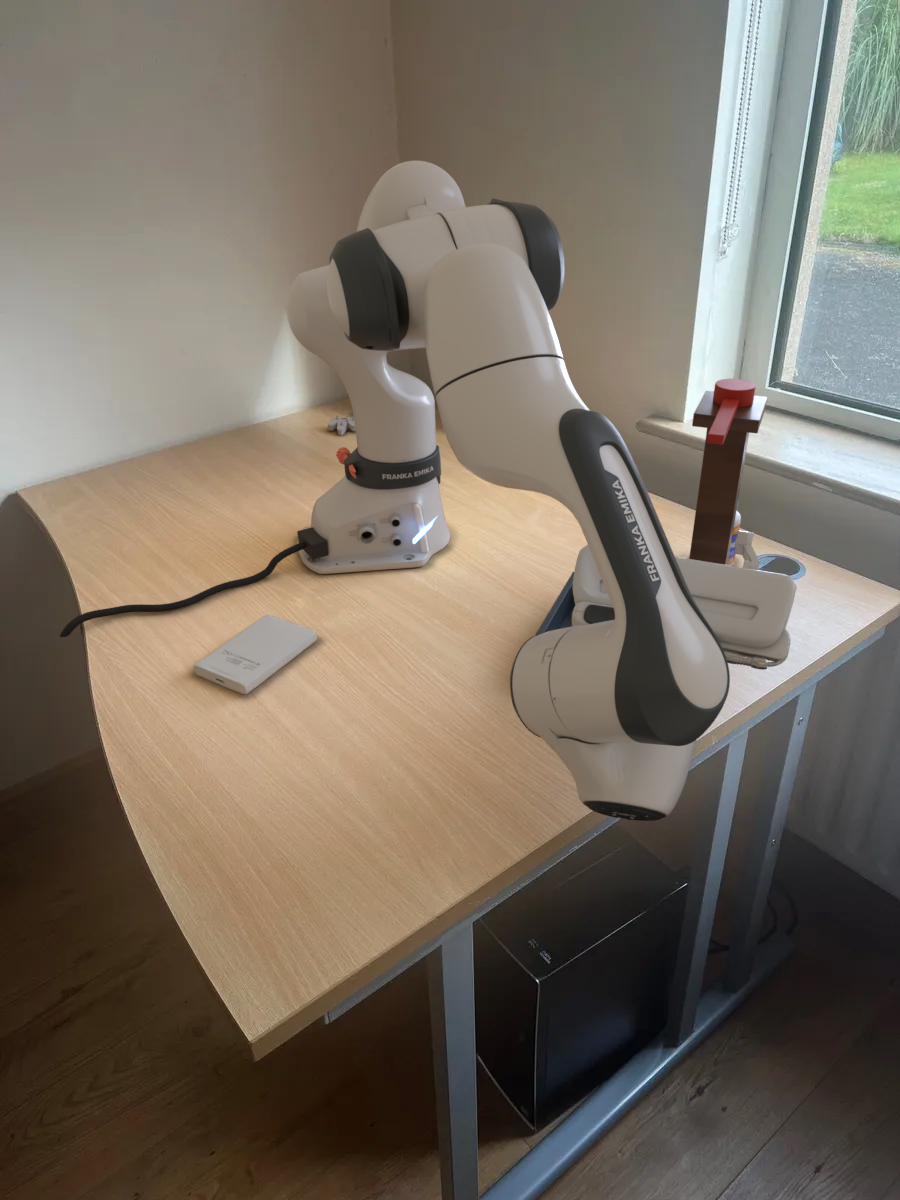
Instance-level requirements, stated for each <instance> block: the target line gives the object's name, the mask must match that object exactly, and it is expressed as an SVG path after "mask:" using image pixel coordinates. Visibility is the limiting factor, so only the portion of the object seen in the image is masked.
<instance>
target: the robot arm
mask: <svg viewBox="0 0 900 1200" xmlns="http://www.w3.org/2000/svg"><path fill="white" fill-rule="evenodd" d="M328 260H329V264H327V265H324V266H320V267H316V268H313V269H310V270H306V271H303V272H300V273H298V275H297V276H296V277H295V278H294V280H293V281H292V283H291V285H290V288H289V290H288V293H287V297H286V305H285V306H286V310H285V311H286V318H287V322H288V325H289V327H290V328H289V329H290V330H291V332H292V334H293V336H294V338H295V339H296V340H297V341H298V343H299V344H300V345H301V346H302V347H303V348H304V349H306V351H308V352H310V353H312V354H313V355H315V356H316V357H318V358H319V359H321V360H322V361H323V362H324V363H325V364H327V365H328V366H329V367H330V368H331V369H332V370H333V371H334V373H335V374H336V375H337V376H338V378H339V379H340V381H341V382H342V385H343V386H344V388H345V390H346V392H347V395H348V398H349V401H350V405H351V410H352V413H353V415H352V416H353V418H354V422H355V429H356V431H355V438H356V448H355V449H353V451H352V452H351V451H350V450H349V449H348V447H339V448H338V449H337V451H335V452H336V455H335V457H336V459H337V460H338V462H339V463H340V464H341V465H343V466H344V467H343V468H344V474H345V475H344V476H343V477H342V478H341V479H340V480H339V481H338V482H337V483H335V484H334V485H333V486H331V487H330V488H329V489H328V490H327V491H326V492H325V493H323V494H322V495H321V496H320V497H318V498H317V499H316V501H315V503H314V505H313V507H312V512H311V518H310V525H308V526H305V527H304V528H302V529H300V530H297V531H296V533H297V543H296V544H293V545H292V546H290V547H287V548H285V549H283V550H282V551H280V552H279V553H277V554H275V556H273V557H272V558H271V560H270V561H269V563H268V564H267V565H266V567H265V568H264V569H262V570H261V571H259V572H258V573H256V574H253V575H251V576H248V577H243V578H240V579H239V578H238V579H235V580H229V581H226V582H223V583H218V584H217V585H215V586H211V587H209V588H207V589H205V590H203V591H201V592H198V593H197V594H193V595H192V596H189V597H187V598H184V599H182V600H179V601H174V602H170V603H161V604H160V603H159V604H144V603H143V604H123V605H119V606H113V607H108V608H102V609H95V610H91V611H87V612H84V613H82V614H80V615H77V616H76V617H74V618H73V619H71V621H69V622H68V623H67V624H66V625H65V626H64V628H63V629H62V631H61V632H60V634H59V637H60V638H66V637H68V636H70V635H71V634H72V632H73V631H74V630H75V629H76V628H77V627H78V626H79V625H81V624H83V623H85V622H87V621H90V620H94V619H99V618H104V617H110V616H116V615H120V614H121V615H122V614H127V613H163V612H165V613H166V612H170V611H177V610H180V609H183V608H184V609H185V608H186V607H189V606H192V605H195V604H197V603H200V602H201V601H203V600H205V599H207V598H209V597H210V598H211V596H213V595H216V594H219V593H221V592H224V591H227V590H230V589H234V588H238V587H243V586H248V585H251V584H255V583H257V582H259V581H261V580H264V579H265V578H267V577H268V576H270V575H271V574H272V573H273V571H274V570H275V568H276V567H277V565H278V564H279V563H280V562H281V561H283V560H284V559H286V558H288V557H289V556H291V555H294V554H295V553H298V555H299V558H300V561H302V563H303V564H304V566H305V567H306V568H307V569H310V571H312V572H314V573H317V574H319V575H328V574H341V573H342V574H343V573H354V572H357V573H358V572H370V571H383V570H397V569H411V568H412V569H413V568H421V567H423V566H425V565H426V564H427V563H428V562H429V560H430V559H431V558H432V557H433V556H434V555H435V554H437V553H439V552H440V551H441V550H443V549H444V548H445V547H446V546H447V545H448V544H449V542H450V540H451V537H452V536H451V535H452V534H451V530H450V529H449V527H448V526H449V525H448V523H447V520H446V516H445V513H444V512H445V511H444V508H443V502H442V497H441V489H440V484H441V476H442V458H441V457H442V456H441V452H440V446H439V445H437V425H436V405H437V409H438V413H439V416H440V417H439V418H440V421H441V425H442V428H443V432H444V434H445V437H446V439H447V440H446V441H447V442H448V444H449V446H450V449H451V451H452V453H453V454H454V456H455V458H456V460H457V461H458V463H459V464H460V465H461V466H463V467H464V468H465V469H466V470H467V471H468V472H470V473H471V474H473V475H474V476H476V477H477V478H479V479H481V480H483V481H485V482H487V483H489V484H492V485H495V486H499V487H502V488H506V489H513V490H519V491H527V492H534V493H538V494H542V495H545V496H547V497H550V498H552V499H554V500H556V501H558V502H559V503H560V504H562V505H563V506H564V507H565V508H566V509H567V510H568V511H569V512H570V513H571V514H572V515H573V517H574V518H575V520H576V521H577V523H578V525H579V526H580V529H581V532H582V534H583V537H584V538H585V541H586V543H587V544H586V545H585V546H584V547H582V548H580V550H579V551H578V554H577V558H576V562H575V566H574V571H573V572H574V577H573V595H574V602H575V607H574V610H573V613H572V627H567V628H562V629H557V630H552V631H548V632H545V633H542V634H538V635H536V634H534V635H533V636H531V637H530V638H528V639H527V640H526V641H525V642H524V643H523V644H522V645H521V647H520V648H519V650H518V652H517V653H516V656H515V658H514V660H513V663H512V666H511V670H510V676H509V677H510V678H509V692H510V698H511V703H512V706H513V709H514V712H515V714H516V715H517V717H518V719H519V720H520V722H521V724H522V725H523V726H524V727H525V728H526V729H527V730H528V731H529V732H530V733H531V734H532V735H534V736H536V737H538V738H540V739H542V740H543V741H544V742H545V744H546V745H548V746H549V747H550V748H551V750H552V751H553V752H554V753H555V754H556V756H557V757H558V758H559V759H560V760H561V761H562V762H563V763H562V764H564V765H565V767H566V768H567V769H568V771H569V773H570V775H571V776H572V778H573V780H574V783H575V786H576V791H577V796H578V798H579V800H580V802H581V803H582V804H583V806H585V807H586V808H588V809H589V810H591V811H593V812H595V813H597V814H600V815H602V816H607V817H611V818H615V819H623V820H628V821H638V822H639V821H641V822H654V821H660V820H662V819H664V818H666V817H668V816H669V815H670V814H671V813H672V811H673V810H674V809H675V807H676V805H677V804H678V802H679V799H680V797H681V795H682V793H683V790H684V787H685V785H686V781H687V778H688V776H689V772H690V769H691V766H692V761H693V757H694V753H695V750H696V744H697V740H698V739H699V738H700V737H701V736H702V735H704V734H705V732H707V730H708V729H709V728H710V727H711V726H712V724H713V723H714V722H715V720H716V719H717V718H718V716H719V714H720V713H721V711H722V709H723V708H724V705H725V703H726V702H727V701H726V700H727V698H728V695H729V691H730V685H731V675H730V667H729V665H730V664H731V665H739V666H746V667H750V668H751V669H755V670H760V671H761V670H762V671H763V670H767V669H768V668H770V667H771V668H772V667H778V666H779V665H781V664H783V663H784V662H785V661H786V660H787V658H788V656H789V654H790V653H789V652H790V647H791V636H790V633H789V631H788V630H787V629H786V628H787V625H788V623H789V619H790V615H791V612H792V610H793V609H792V608H793V605H794V601H795V597H796V592H797V585H796V583H795V581H794V580H793V578H792V576H790V575H788V574H785V573H778V572H772V571H768V570H767V571H766V570H760V564H761V562H760V559H759V557H758V556H757V553H756V551H755V549H754V547H753V540H754V532H751V531H746V530H740V529H739V530H738V532H737V538H736V541H735V549H734V554H735V555H740V556H742V558H743V565H742V566H736V565H735V566H734V565H732V566H730V565H724V564H717V563H711V562H705V561H699V560H693V559H689V558H686V557H679V556H675V554H674V551H673V549H672V547H671V544H670V542H669V540H668V537H667V535H666V532H665V530H664V527H663V525H662V523H661V520H660V518H659V516H658V514H657V511H656V509H655V507H654V504H653V502H652V500H651V497H650V495H649V492H648V490H647V487H646V485H645V483H644V481H643V479H642V476H641V474H640V472H639V469H638V467H637V465H636V463H635V461H634V458H633V456H632V454H631V452H630V450H629V448H628V446H627V445H626V442H625V441H624V439H623V437H622V436H621V434H620V432H619V431H618V429H617V428H616V427H615V425H614V424H613V423H612V422H611V420H609V419H608V417H606V416H605V415H604V414H602V413H600V412H597V411H593V410H590V409H589V408H588V406H587V405H586V404H585V403H584V401H583V400H582V398H581V396H579V394H578V392H577V390H576V388H575V386H574V385H573V382H572V380H571V377H570V375H569V372H568V369H567V366H566V362H565V358H564V354H563V351H562V348H561V344H560V340H559V338H558V335H557V332H556V329H555V325H554V323H553V319H552V317H551V314H550V311H551V310H552V309H553V308H554V307H555V306H556V304H557V302H558V299H559V297H560V295H561V293H562V291H563V287H564V281H565V256H564V249H563V243H562V239H561V236H560V233H559V229H558V228H557V225H556V224H555V222H554V220H553V219H552V217H551V216H549V215H548V214H547V213H546V212H545V211H543V210H542V208H540V207H538V206H536V205H534V204H530V203H524V202H517V201H508V200H507V201H505V200H501V199H499V198H492V199H490V202H489V203H486V204H479V205H472V206H467V205H466V203H465V199H464V196H463V194H462V191H461V188H460V187H459V185H458V184H457V182H456V181H455V180H454V178H453V177H452V176H451V175H450V173H448V172H447V171H446V170H445V169H444V168H442V167H440V166H438V165H436V164H434V163H432V162H428V161H424V160H406V161H403V162H400V163H398V164H395V165H394V166H392V167H391V168H389V169H388V170H387V171H385V172H384V173H383V174H382V175H381V177H379V179H378V180H377V182H376V183H375V185H374V186H373V187H372V189H371V191H370V193H369V194H368V197H367V199H366V200H365V202H364V205H363V208H362V210H361V212H360V216H359V219H358V223H357V228H356V231H355V232H353V233H351V234H349V235H347V236H345V237H343V238H341V239H339V240H338V241H336V243H335V245H334V247H333V249H332V251H331V253H330V255H329V259H328ZM415 349H425V352H426V359H427V364H428V369H429V375H430V380H431V384H432V388H433V392H434V394H433V392H432V390H431V388H430V387H429V385H428V384H426V383H425V382H424V381H423V380H421V379H419V378H418V377H416V376H414V375H412V374H410V373H407V372H406V371H402V370H399V369H397V368H395V367H393V366H392V365H390V364H389V363H388V360H387V355H388V353H390V352H393V351H404V350H415ZM435 400H436V401H435ZM435 403H436V404H435Z"/></svg>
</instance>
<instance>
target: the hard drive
mask: <svg viewBox="0 0 900 1200" xmlns="http://www.w3.org/2000/svg"><path fill="white" fill-rule="evenodd" d="M317 640H318V636H317V631H314V630H313V629H311V628H307V627H305V626H302V625H298V624H296V623H293V622H291V621H287V620H285V619H282V618H279V617H276V616H274V615H271V614H265V615H263V616H262V617H260V618H259V619H257V620H256V621H255V622H253V623H252V624H250V625H249V626H248V627H246V628H245V629H243V630H241V631H240V632H239V633H238V634H236V635H234V636H233V637H232V638H230V639H229V640H228V641H226V642H225V643H223V644H222V645H220V646H219V647H218V648H216V649H215V650H213V651H212V652H210V653H209V654H208V655H206V656H205V657H203V658H202V659H200V660H199V661H197V662H196V663H194V664H193V665H192V667H193V671H194V674H195V675H196V676H198V677H200V678H203V679H204V680H207V681H209V682H211V683H215V684H217V685H220V686H222V687H224V688H226V689H230V690H232V691H234V692H237V693H238V694H241V695H248V694H249V693H251V692H252V691H253V690H255V689H256V688H258V687H259V686H260V685H261V684H263V683H264V682H265V681H266V680H268V679H269V678H270V677H271V676H273V675H274V674H275V673H277V672H278V671H280V670H281V669H282V668H283V667H284V666H286V665H287V664H288V663H290V662H291V661H292V660H293V659H295V658H296V657H297V656H299V655H300V654H301V653H303V652H304V651H305V650H306V649H308V648H309V647H310V646H311V645H313V644H314V643H315V642H316V641H317Z"/></svg>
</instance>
